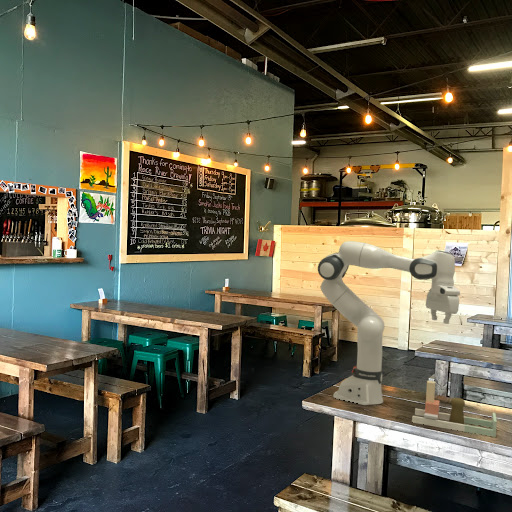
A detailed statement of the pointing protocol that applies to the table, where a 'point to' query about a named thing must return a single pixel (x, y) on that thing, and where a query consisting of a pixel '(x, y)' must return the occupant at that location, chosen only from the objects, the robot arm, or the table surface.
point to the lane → (457, 426)
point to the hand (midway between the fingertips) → (440, 321)
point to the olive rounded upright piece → (457, 411)
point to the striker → (431, 402)
